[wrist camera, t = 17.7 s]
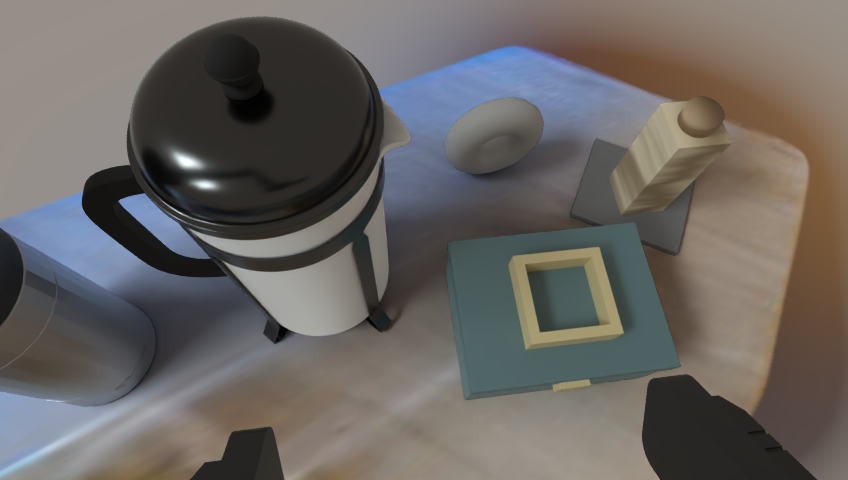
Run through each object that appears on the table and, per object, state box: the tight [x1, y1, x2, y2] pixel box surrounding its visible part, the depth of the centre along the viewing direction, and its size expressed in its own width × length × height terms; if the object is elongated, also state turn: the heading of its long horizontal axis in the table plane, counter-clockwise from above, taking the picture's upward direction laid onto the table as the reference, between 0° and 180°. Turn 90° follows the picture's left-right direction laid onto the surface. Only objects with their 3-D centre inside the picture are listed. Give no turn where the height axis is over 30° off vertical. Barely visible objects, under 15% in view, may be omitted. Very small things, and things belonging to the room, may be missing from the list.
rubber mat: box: [570, 138, 695, 256], centre depth 53 cm, size 11×10×1 cm
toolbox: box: [445, 222, 681, 400], centre depth 43 cm, size 16×13×9 cm
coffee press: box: [82, 17, 410, 344], centre depth 34 cm, size 17×16×30 cm
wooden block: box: [609, 96, 731, 215], centre depth 46 cm, size 4×4×14 cm
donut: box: [445, 97, 544, 174], centre depth 50 cm, size 10×3×10 cm, turn 106°
